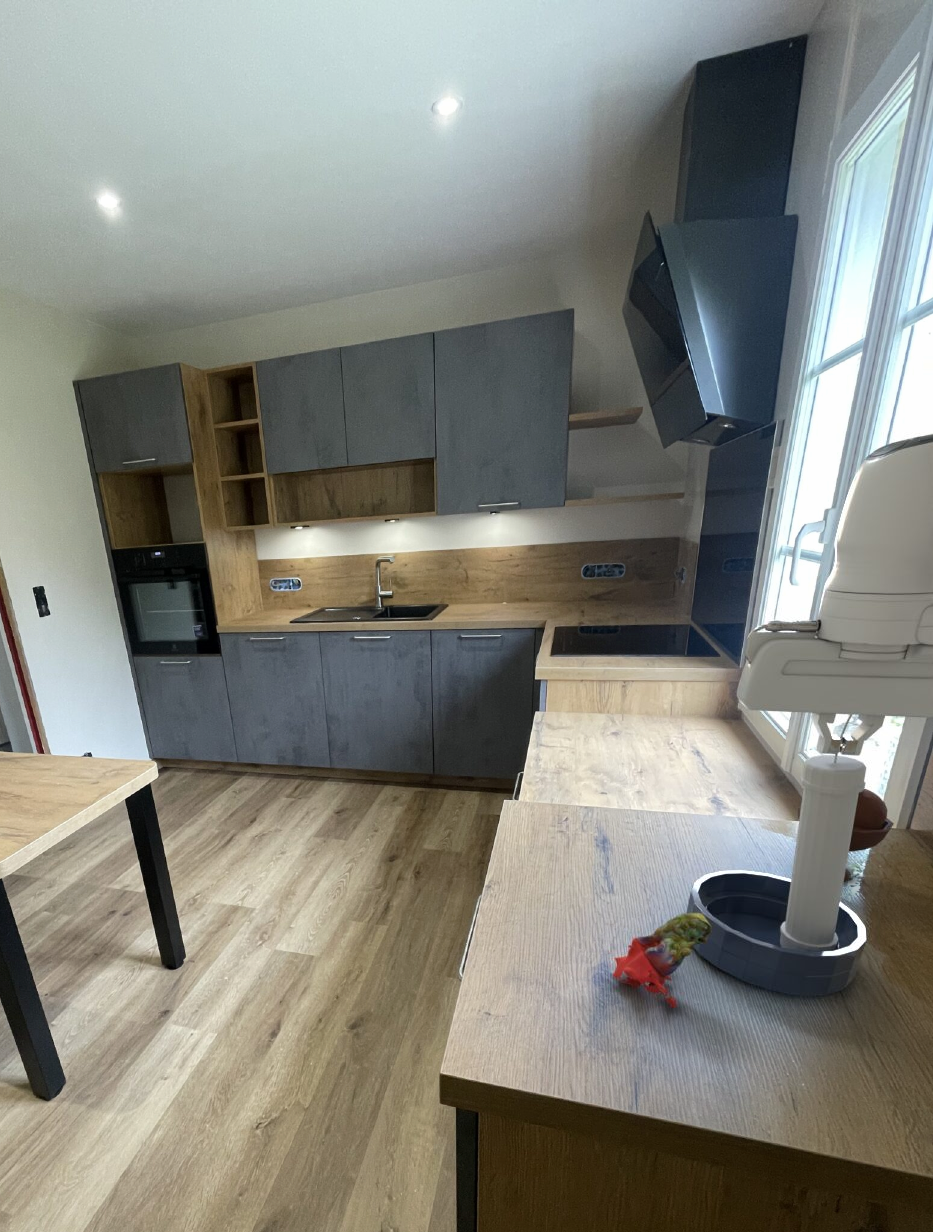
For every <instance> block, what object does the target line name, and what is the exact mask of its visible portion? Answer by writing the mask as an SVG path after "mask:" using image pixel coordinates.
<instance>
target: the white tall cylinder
mask: <svg viewBox="0 0 933 1232" xmlns="http://www.w3.org/2000/svg"><path fill="white" fill-rule="evenodd" d="M852 717H853V714H849V716H848V717H847V720H846V721H845V723H844V726H843V728H842V731H841V734H840V736H839V738H841V739H842V737H843V735H845V732H846V730H847V727H848V724H849V723H850V721H851V718H852ZM838 748H839V747H838ZM866 772H867V766H866V765H865V763H864V762H863V761H860V760H858V759H856V758H852V757H849V756H845V755H844V756H843V755H839V753H838V754H822V755H815V756H811V757H808V758H806V759H805V761H804V763H803V767H802V775H801V776H800V777H799V783H800V785H801V786H802V787H803V790H802V797H801V804H800V805H801V812H800V819H798V827H797V834H796V843H795V850H794V856H793V863H792V870H791V877H790V879H791V885H790V892H789V900H788V907H787V914H786V921H785V922H783V924H782V925H781V927H780V932H781V938H780V944H781V947H782V948H789V949H795V950H801V951H808V952H814V951H835V947H836V945H837V943H838V937H837V934H836V933H835V929H836V923H837V917H838V911H839V905H840V902H841V899H842V895H843V894H842V893H843V888H844V887H843V886H844V876H845V870H846V868H847V863H848V858H849V847H850V841H851V835H852V829H853V823H854V817H855V812H856V806H857V800H858V794H859V792H862V791H863V790H864V789H866V781H865V779H866Z"/></svg>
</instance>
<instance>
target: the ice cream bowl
mask: <svg viewBox="0 0 933 1232" xmlns="http://www.w3.org/2000/svg"><path fill="white" fill-rule="evenodd" d="M800 812H801V804H800V805H799V806H798V807H797V818H798V820H799V819H800ZM894 825H895V823H894V822H892V820H890V819H889V818H888V807H887V805H886V802H885V801H884V800H883V799H882V798H881V797H880V796H879V795H878V794H877V793H875V792H874V791H872V790H869V789H867V788H864V790H863V791H862V792H859V794H858V800H857V806H856V812H855V817H854V823H853V829H852V835H851V841H850V847H849V852H859V851H866V850H868V849H871V848H874V847H877V846H878V845H879V844H880V843H881V842H883V840H884V839H885V838H886V836H887V835H888V834H889V832H890V831H891V829H892V828H893V826H894ZM851 877H852V873H851V871H850V870H849V869H847V867H846V870H845V876H844V881H845V882H847V881H849V880H850V878H851Z"/></svg>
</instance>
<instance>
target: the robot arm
mask: <svg viewBox="0 0 933 1232" xmlns="http://www.w3.org/2000/svg"><path fill="white" fill-rule="evenodd" d="M834 549H835V561H834V566H833V569H832V571H831V572H830V575H829V577H828V578H827V580H826V582H825V584H824V587H823V592H822V596H821V600H820V604H819V609H818V613H817V617H816V619H815V620H814V619H809V620H806V619H805V620H804V619H803V620H790V621H789V620H787V621H785V620H780V619H779V620H778V619H777V620H775V619H774V620H768V621H766V623H765V624H761V625H758V626H757V627H755V628H753V630H751V631H750V632H749V634H748V635H747V638H746V641H745V647H744V658H745V660H746V661H745V664H744V666H743V669H742V672H741V675H740V678H739V681H738V685H737V689H736V697H737V699H738V701H739V702H740V704H741V705H743V706H744V708H746V709H747V710H749V711H757V712H758V711H761V712H783V713H804V714H805V713H807V714H811V716H810V719H811V720H812V723H813V725H814V728H815V730H816V731H817V734H818V739H817V744H816V751H817V752H818V753H819V754H822V755H835V754H838V755H839V753H840V755H841V756H843V755H844V756H855V757H856V756H857V757H858V756H860V755H861V753H862V750H863V746H864V744H865V742H866V741H867V740H868V739H869V738H870V737H872V736H873V735H874V734H875V733H877V731H878V730H880V729H881V728H882V727H883V726H884V721H885V718H886V717H900V718H901V717H903V718H905V717H906V718H924V719H925V718H926V719H927V718H929V719H933V433H931V434H926V435H920V436H915V437H911V438H907V439H902V440H899V441H894V442H891V443H887V444H886V445H883V446H881V447H879V448H877V449H875V450H874V451H872V453H870V454H868V455H867V456H866V457H865V458H864V460H863V461H862V463H861V465H860V466H859V468H858V469H857V471H856V474H855V476H854V477H853V480H852V482H851V485H850V488H849V490H848V494H847V496H846V499H845V503H844V505H843V509H842V512H841V516H840V520H839V524H838V528H837V532H836V536H835V540H834ZM850 714H853V715H854V716H855V715H856V716H857V719H858V720H859V721H861V722H860V723H859V724H858V726H857V727H856V728H855V729H854V730H853V731H852V732H851V733H850V734H844V735H843V737H842V739H841V738H840V736H838V735H837V734H836V733H835V734H833V733H831V730H830V727H829V725H828V724H834V723H835V720H836V716H837V715H850ZM853 715H852V716H853ZM838 747H839V748H838Z"/></svg>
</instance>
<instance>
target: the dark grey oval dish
mask: <svg viewBox="0 0 933 1232" xmlns="http://www.w3.org/2000/svg"><path fill="white" fill-rule="evenodd" d="M790 885H791V878H788V877H784V876H779V875H775V874H772V873H767V872H759V871H749V870H741V869H740V870H720V871H715V872H712V873H707V874H704V875H703V876H701V877H700V878H698V879H696V880H695V881H694V882H693V885H692V887H691V889H690V892H689V898H688V902H687V908H686V912H685V913H701V914H703V915H704V916H705V918H706V920H707V921H708V923H709V924H710V925H711V933H710V934H708V935H707V941H706V942H705V943H703V944H697V945H695V946H694V947H693V948H694V949H695V950H696V952H697V953H698V954H699V956H701V957H702V958H704V959H705V960H707V962H709V963H710V964H712V965H713V966H715V967H716V968H718V969H719V970H721V971H723V972H725V973H727V974H729V975H731V976H733V977H735V978H737V979H738V980H741V981H743V982H746V983H748V984H751V985H754V986H757V987H760V988H763V989H765V990H768V991H772V992H779V993H784V994H790V995H795V996H827V995H831V994H833V993H836V992H839V991H843V990H845V989H846V988H847V987H848V986H849V984H850V983H851V982H852V981H853V980H854V979H855V977H856V972H857V970H858V967H859V964H860V961H861V958H862V956H863V952H864V949H865V946H866V943H867V941H868V940H867V928H866V926H865V923H863V921H862V920H861V919H860V917H859V915H857V913H855V912H854V911H853V910H851V908H849V907H848V906H847V905H845V904H844V903H843V902H842V901H840V905H839V911H838V917H837V923H836V929H835V933H836V934H837V937H838V943H837V945H836V947H835V951H814V952H808V951H801V950H795V949H789V948H782V947H781V944H780V938H781V932H780V927H781V925H782V924H783V922H785V921H786V914H787V907H788V900H789V892H790Z"/></svg>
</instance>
